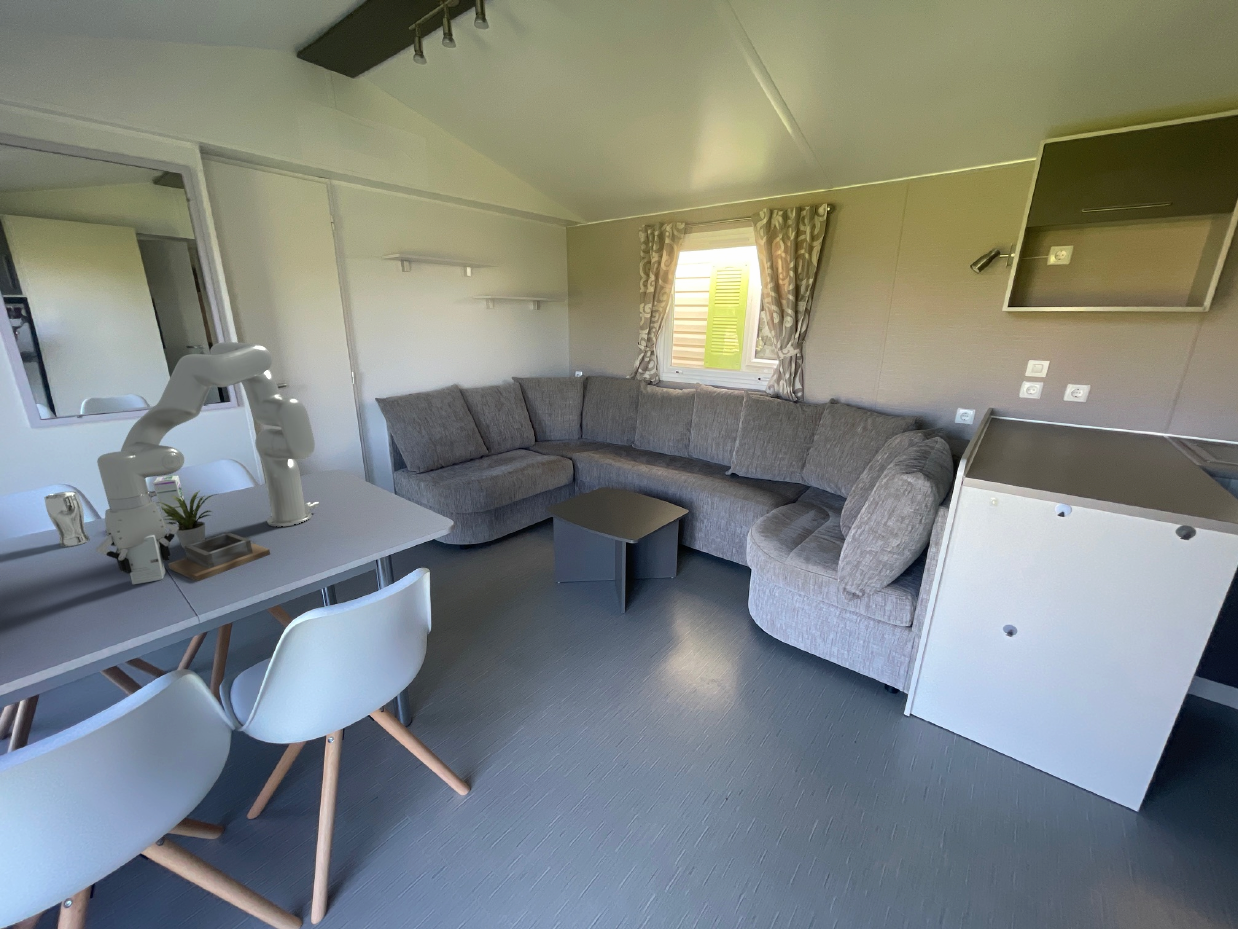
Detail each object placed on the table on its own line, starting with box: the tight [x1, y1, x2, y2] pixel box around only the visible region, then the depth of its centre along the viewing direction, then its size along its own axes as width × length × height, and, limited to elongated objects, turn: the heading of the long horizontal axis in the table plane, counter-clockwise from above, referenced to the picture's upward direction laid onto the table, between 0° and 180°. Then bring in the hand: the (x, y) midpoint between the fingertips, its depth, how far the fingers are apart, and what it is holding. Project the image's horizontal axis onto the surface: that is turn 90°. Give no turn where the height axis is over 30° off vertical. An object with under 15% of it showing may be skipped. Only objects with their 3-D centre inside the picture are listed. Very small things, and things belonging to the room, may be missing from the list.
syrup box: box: [152, 474, 186, 524], centre depth 165 cm, size 6×6×14 cm
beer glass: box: [43, 491, 91, 548], centre depth 146 cm, size 7×7×15 cm
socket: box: [168, 532, 271, 582], centre depth 139 cm, size 18×14×6 cm
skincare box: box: [125, 535, 166, 585], centre depth 128 cm, size 6×4×12 cm
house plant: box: [156, 490, 218, 550], centre depth 148 cm, size 14×14×16 cm
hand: (146, 565), depth 129 cm, fingers closed on skincare box, 7 cm apart
